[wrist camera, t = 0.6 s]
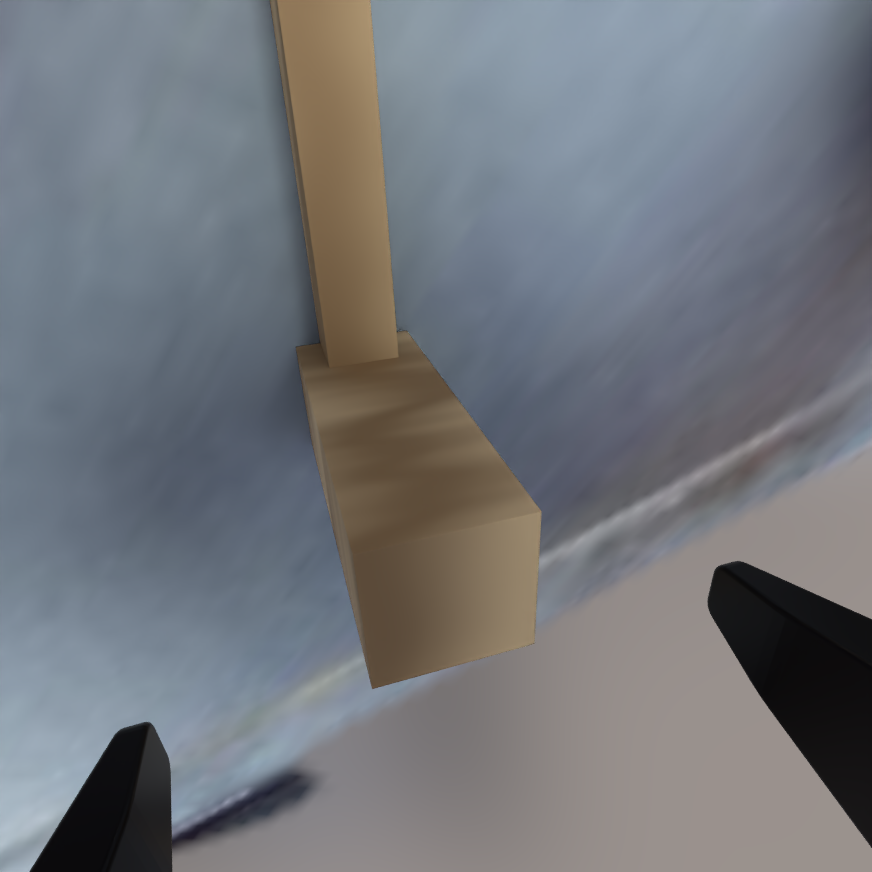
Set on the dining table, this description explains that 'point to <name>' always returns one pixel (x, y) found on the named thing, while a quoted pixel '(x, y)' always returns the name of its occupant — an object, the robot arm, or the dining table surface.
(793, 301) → the dining table surface
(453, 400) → the tan block with post
